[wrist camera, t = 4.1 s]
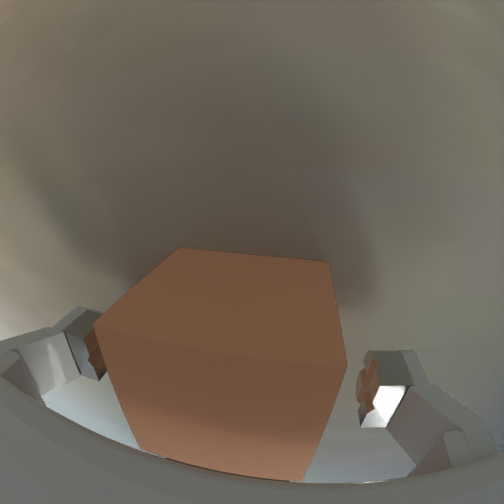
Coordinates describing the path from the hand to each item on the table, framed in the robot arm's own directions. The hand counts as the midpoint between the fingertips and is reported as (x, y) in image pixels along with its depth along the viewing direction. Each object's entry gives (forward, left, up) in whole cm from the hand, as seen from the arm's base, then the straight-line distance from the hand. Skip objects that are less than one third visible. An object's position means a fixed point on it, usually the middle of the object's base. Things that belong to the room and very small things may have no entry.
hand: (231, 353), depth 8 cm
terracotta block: (0, 0, -2) cm, 2 cm away
